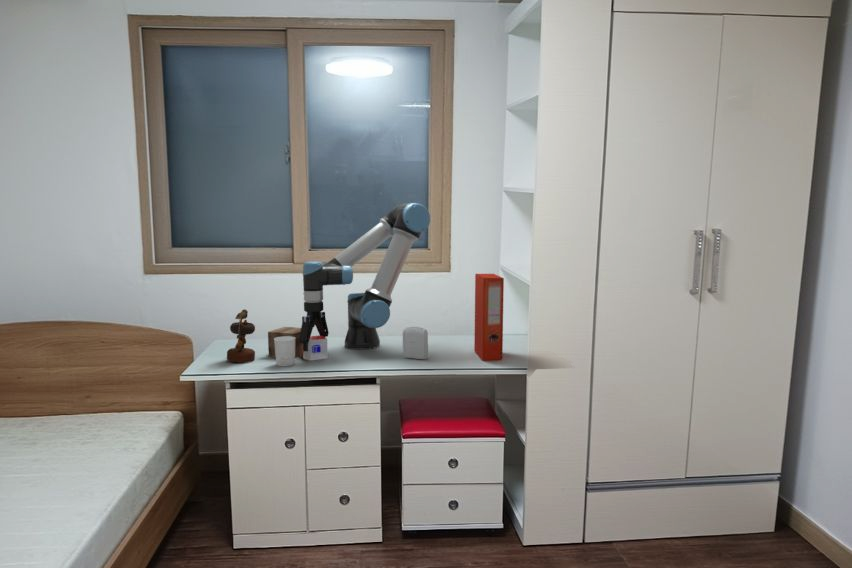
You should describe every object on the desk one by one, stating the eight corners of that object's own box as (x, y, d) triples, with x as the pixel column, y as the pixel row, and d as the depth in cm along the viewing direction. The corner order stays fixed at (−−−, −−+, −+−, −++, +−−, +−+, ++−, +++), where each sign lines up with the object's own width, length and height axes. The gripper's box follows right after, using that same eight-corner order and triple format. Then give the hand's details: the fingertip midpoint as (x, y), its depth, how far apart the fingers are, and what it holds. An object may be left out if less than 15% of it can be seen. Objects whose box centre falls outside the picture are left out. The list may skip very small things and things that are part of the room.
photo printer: (401, 358, 251) (400, 327, 250) (406, 355, 255) (405, 325, 254) (425, 360, 247) (424, 328, 246) (429, 358, 251) (429, 327, 250)
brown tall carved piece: (255, 363, 244) (254, 311, 242) (225, 365, 241) (223, 313, 239) (256, 354, 258) (254, 306, 256) (228, 356, 256) (226, 307, 254)
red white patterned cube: (321, 354, 258) (321, 335, 257) (327, 358, 251) (327, 338, 250) (302, 356, 255) (301, 337, 254) (307, 360, 248) (307, 340, 247)
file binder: (493, 350, 263) (494, 273, 260) (503, 360, 246) (503, 277, 243) (474, 351, 262) (474, 273, 259) (482, 361, 245) (482, 278, 242)
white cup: (276, 362, 246) (275, 336, 245) (297, 361, 247) (296, 336, 245) (273, 367, 238) (272, 340, 237) (294, 366, 239) (294, 340, 238)
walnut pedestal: (310, 352, 262) (309, 328, 261) (294, 358, 251) (293, 333, 250) (285, 350, 267) (284, 326, 265) (268, 356, 255) (267, 331, 254)
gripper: (320, 296, 263) (321, 349, 265) (288, 304, 241) (290, 361, 243) (336, 297, 260) (337, 350, 263) (306, 305, 238) (307, 363, 241)
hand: (314, 355), depth 253 cm, fingers closed on red white patterned cube, 11 cm apart
